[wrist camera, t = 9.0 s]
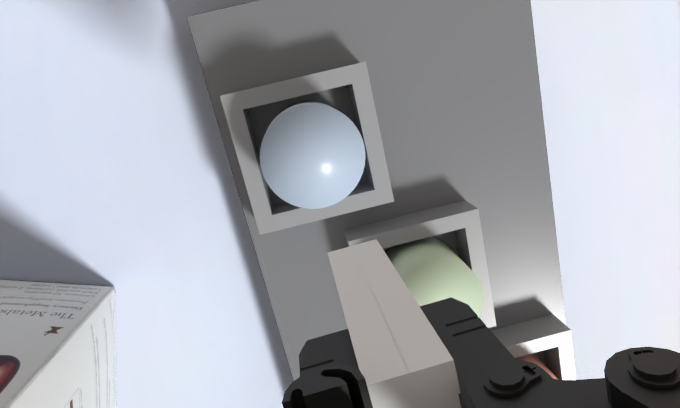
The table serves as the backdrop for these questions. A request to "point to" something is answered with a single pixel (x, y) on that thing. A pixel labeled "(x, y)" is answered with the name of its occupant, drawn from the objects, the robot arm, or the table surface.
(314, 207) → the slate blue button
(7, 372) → the supplement box
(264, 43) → the panel
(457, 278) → the sage button
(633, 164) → the table surface
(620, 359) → the robot arm
